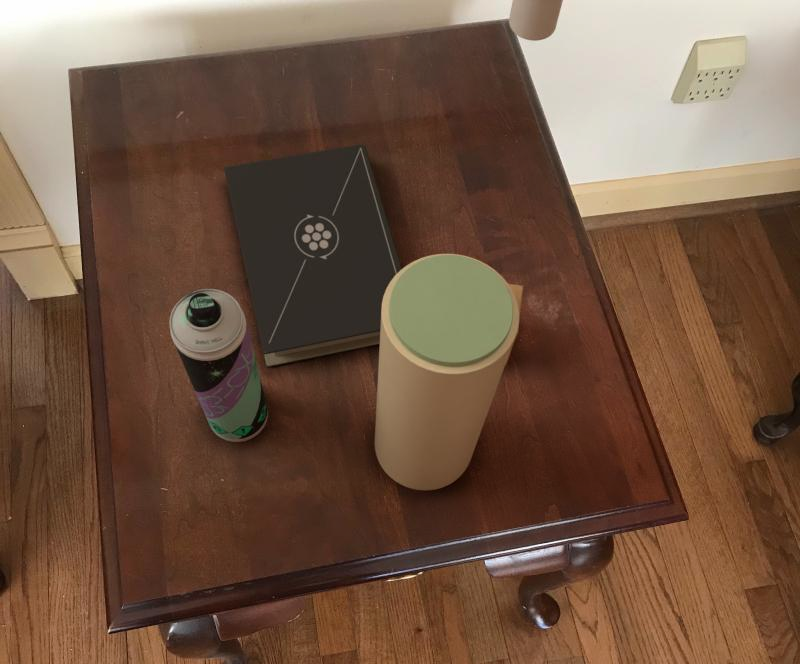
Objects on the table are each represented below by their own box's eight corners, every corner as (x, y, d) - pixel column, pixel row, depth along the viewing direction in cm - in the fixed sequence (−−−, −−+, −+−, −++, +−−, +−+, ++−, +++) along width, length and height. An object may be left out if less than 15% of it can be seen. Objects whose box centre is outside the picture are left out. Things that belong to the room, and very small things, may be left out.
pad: (447, 238, 56) (447, 233, 56) (536, 312, 54) (538, 307, 54) (363, 310, 54) (363, 306, 53) (454, 390, 52) (455, 386, 51)
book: (418, 337, 81) (420, 321, 78) (266, 368, 78) (263, 353, 76) (366, 162, 89) (366, 142, 86) (227, 185, 87) (223, 166, 84)
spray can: (195, 416, 76) (144, 305, 58) (238, 376, 78) (201, 256, 60) (238, 454, 75) (199, 352, 57) (280, 412, 77) (256, 300, 58)
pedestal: (421, 380, 79) (446, 230, 57) (493, 443, 76) (547, 312, 55) (354, 443, 76) (352, 310, 54) (425, 510, 74) (454, 401, 52)
